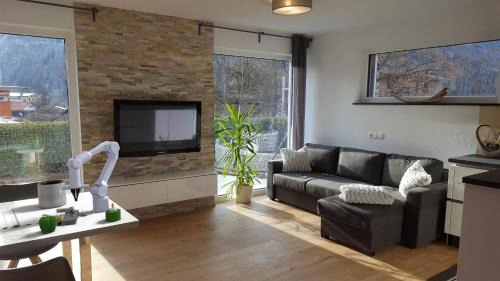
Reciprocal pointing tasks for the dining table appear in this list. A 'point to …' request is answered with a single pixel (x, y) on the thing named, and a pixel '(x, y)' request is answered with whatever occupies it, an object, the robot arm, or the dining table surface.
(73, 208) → the lever
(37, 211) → the dining table surface
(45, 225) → the bell pepper
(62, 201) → the planter
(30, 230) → the dining table surface
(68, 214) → the plane body
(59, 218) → the lever cap
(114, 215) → the candle
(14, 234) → the dining table surface
